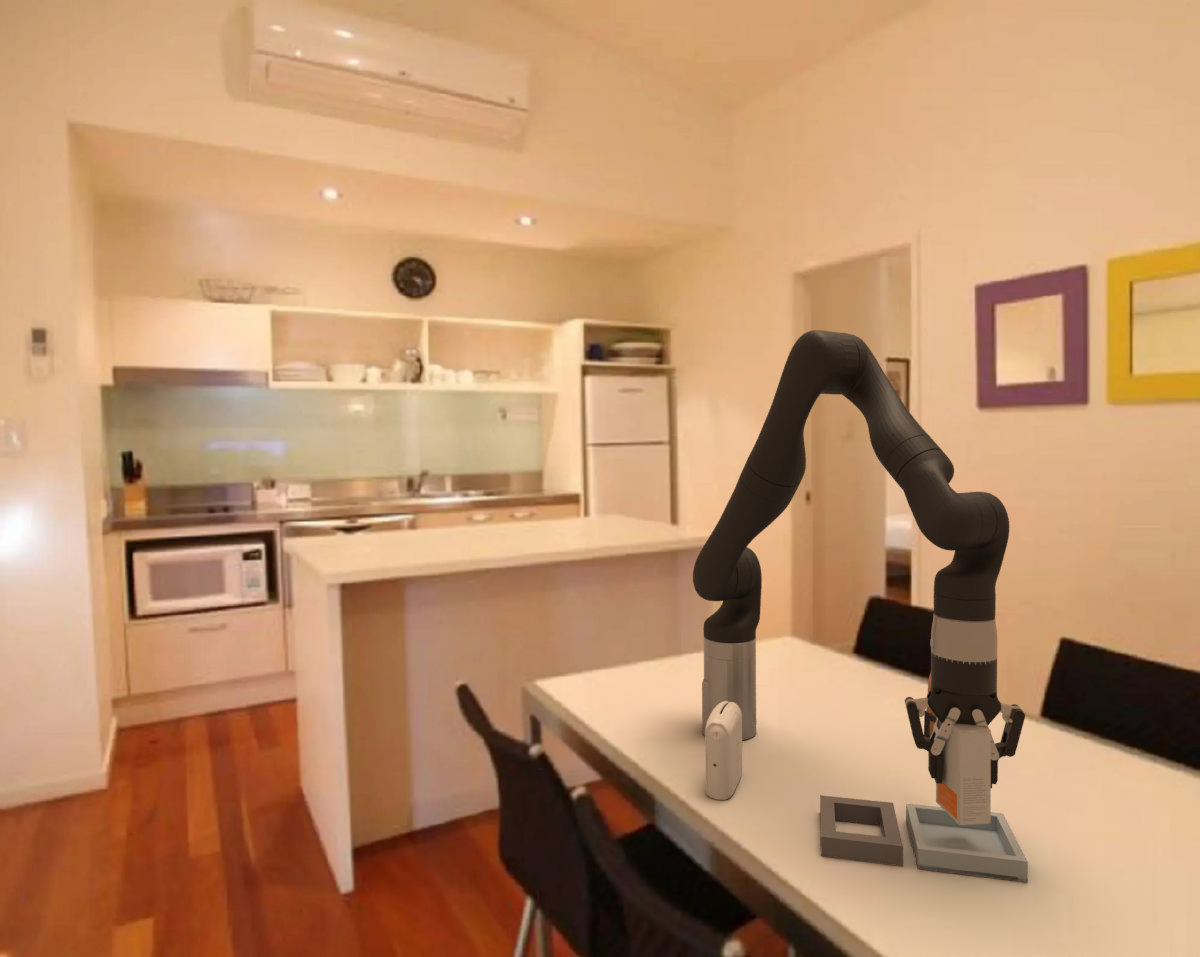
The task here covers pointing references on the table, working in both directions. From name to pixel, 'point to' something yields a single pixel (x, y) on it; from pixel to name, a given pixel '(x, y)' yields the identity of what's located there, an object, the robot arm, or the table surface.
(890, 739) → the table surface
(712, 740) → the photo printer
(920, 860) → the parts tray
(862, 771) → the table surface
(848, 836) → the holder
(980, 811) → the skincare box
